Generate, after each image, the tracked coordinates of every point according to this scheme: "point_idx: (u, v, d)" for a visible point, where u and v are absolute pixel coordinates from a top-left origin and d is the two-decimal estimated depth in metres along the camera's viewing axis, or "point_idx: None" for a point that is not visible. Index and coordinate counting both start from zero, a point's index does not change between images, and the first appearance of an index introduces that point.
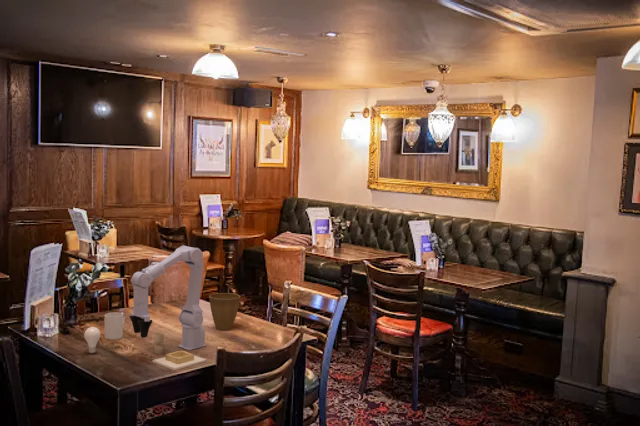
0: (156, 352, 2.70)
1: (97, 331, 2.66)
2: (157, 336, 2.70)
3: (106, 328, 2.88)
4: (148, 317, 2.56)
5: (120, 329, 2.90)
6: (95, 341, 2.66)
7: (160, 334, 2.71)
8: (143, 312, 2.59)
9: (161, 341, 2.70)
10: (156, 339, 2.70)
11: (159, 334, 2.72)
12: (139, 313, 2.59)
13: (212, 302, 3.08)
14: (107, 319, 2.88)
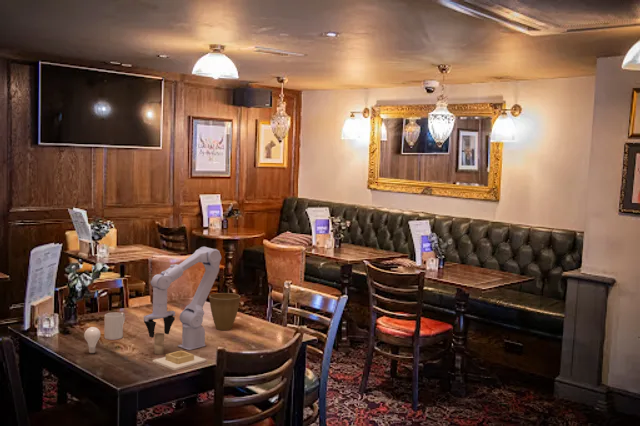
0: (156, 352, 2.70)
1: (97, 331, 2.66)
2: (157, 336, 2.70)
3: (106, 328, 2.88)
4: (145, 317, 2.65)
5: (120, 329, 2.90)
6: (95, 341, 2.66)
7: (160, 334, 2.71)
8: (154, 313, 2.69)
9: (161, 341, 2.70)
10: (156, 339, 2.70)
11: (159, 334, 2.72)
12: (152, 313, 2.70)
13: (212, 302, 3.08)
14: (107, 319, 2.88)
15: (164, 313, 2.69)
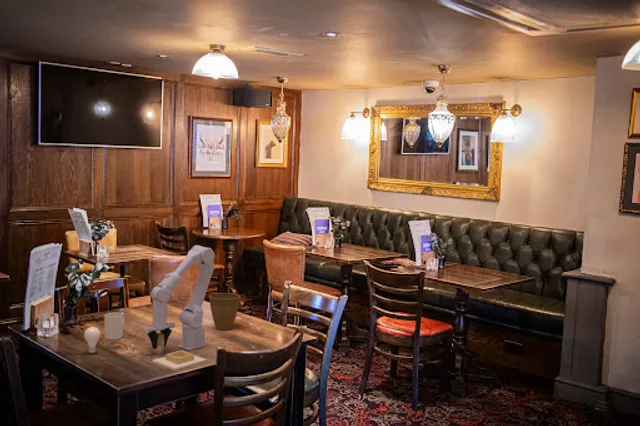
0: (156, 352, 2.70)
1: (97, 331, 2.66)
2: None
3: (106, 328, 2.88)
4: (145, 329, 2.65)
5: (120, 329, 2.90)
6: (95, 341, 2.66)
7: (160, 334, 2.71)
8: (153, 325, 2.69)
9: (161, 341, 2.70)
10: None
11: (159, 334, 2.72)
12: (152, 325, 2.70)
13: (212, 302, 3.08)
14: (107, 319, 2.88)
15: (164, 325, 2.70)
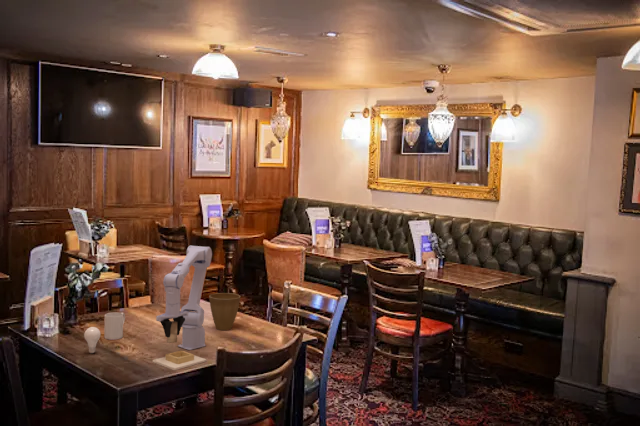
0: (169, 341, 2.63)
1: (97, 331, 2.66)
2: None
3: (106, 328, 2.88)
4: (158, 317, 2.58)
5: (120, 329, 2.90)
6: (95, 341, 2.66)
7: (173, 322, 2.64)
8: (167, 313, 2.62)
9: (174, 329, 2.63)
10: None
11: (172, 322, 2.65)
12: (165, 312, 2.63)
13: (212, 302, 3.08)
14: (107, 319, 2.88)
15: (177, 313, 2.62)
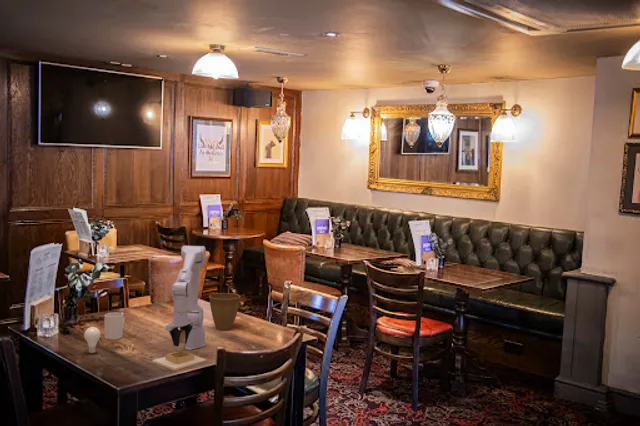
0: (178, 350, 2.60)
1: (97, 331, 2.66)
2: None
3: (106, 328, 2.88)
4: (168, 326, 2.54)
5: (120, 329, 2.90)
6: (95, 341, 2.66)
7: None
8: (175, 321, 2.58)
9: (183, 338, 2.60)
10: None
11: None
12: (173, 321, 2.59)
13: (212, 302, 3.08)
14: (107, 319, 2.88)
15: (186, 321, 2.59)
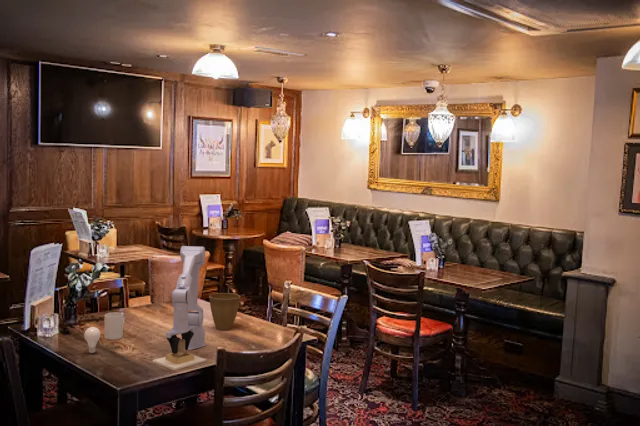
0: None
1: (97, 331, 2.66)
2: (178, 343, 2.59)
3: (106, 328, 2.88)
4: (168, 334, 2.54)
5: (120, 329, 2.90)
6: (95, 341, 2.66)
7: (181, 340, 2.61)
8: (175, 328, 2.58)
9: (183, 347, 2.60)
10: None
11: (179, 340, 2.62)
12: (173, 328, 2.59)
13: (212, 302, 3.08)
14: (107, 319, 2.88)
15: (186, 328, 2.60)
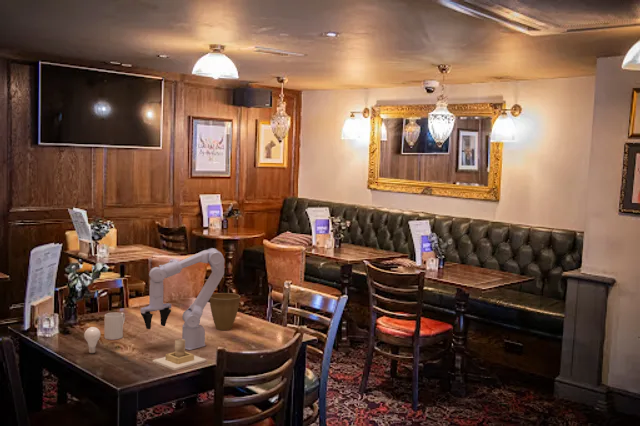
0: None
1: (97, 331, 2.66)
2: (178, 343, 2.59)
3: (106, 328, 2.88)
4: (142, 309, 2.70)
5: (120, 329, 2.90)
6: (95, 341, 2.66)
7: (181, 340, 2.61)
8: (150, 305, 2.74)
9: (183, 347, 2.60)
10: (177, 345, 2.59)
11: (180, 340, 2.62)
12: (149, 305, 2.75)
13: (212, 302, 3.08)
14: (107, 319, 2.88)
15: (160, 305, 2.74)
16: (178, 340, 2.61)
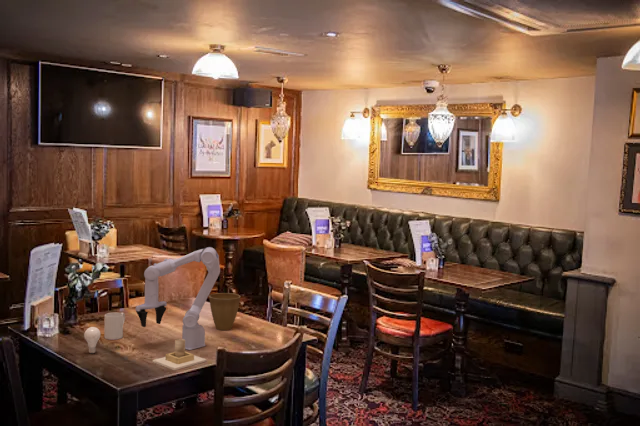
0: None
1: (97, 331, 2.66)
2: (178, 343, 2.59)
3: (106, 328, 2.88)
4: (137, 307, 2.73)
5: (120, 329, 2.90)
6: (95, 341, 2.66)
7: (181, 340, 2.61)
8: (145, 303, 2.77)
9: (183, 347, 2.60)
10: (177, 345, 2.59)
11: (180, 340, 2.62)
12: (144, 303, 2.78)
13: (212, 302, 3.08)
14: (107, 319, 2.88)
15: (155, 303, 2.78)
16: (178, 340, 2.61)
